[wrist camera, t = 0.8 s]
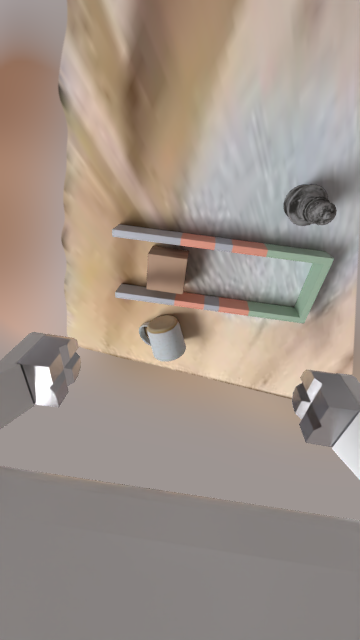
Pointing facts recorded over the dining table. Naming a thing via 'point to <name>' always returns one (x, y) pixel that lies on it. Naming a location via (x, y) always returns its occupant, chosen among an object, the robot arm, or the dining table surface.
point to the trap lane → (219, 304)
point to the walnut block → (167, 269)
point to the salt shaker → (309, 206)
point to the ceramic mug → (164, 337)
